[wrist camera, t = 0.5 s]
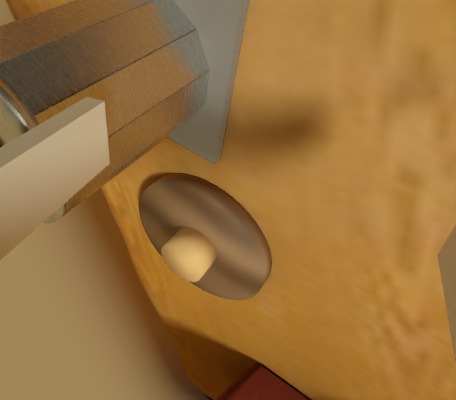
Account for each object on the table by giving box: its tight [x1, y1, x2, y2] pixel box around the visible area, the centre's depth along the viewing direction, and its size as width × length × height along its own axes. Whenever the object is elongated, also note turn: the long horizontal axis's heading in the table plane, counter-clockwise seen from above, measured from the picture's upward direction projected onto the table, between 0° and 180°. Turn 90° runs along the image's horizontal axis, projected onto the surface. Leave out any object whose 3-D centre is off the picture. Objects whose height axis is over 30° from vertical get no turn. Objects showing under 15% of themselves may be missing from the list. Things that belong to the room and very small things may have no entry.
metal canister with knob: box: [0, 0, 210, 223], centre depth 22 cm, size 9×9×13 cm
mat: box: [167, 0, 249, 164], centre depth 27 cm, size 12×12×1 cm
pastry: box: [161, 227, 217, 282], centre depth 35 cm, size 4×4×2 cm
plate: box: [139, 173, 272, 300], centre depth 37 cm, size 14×14×2 cm
